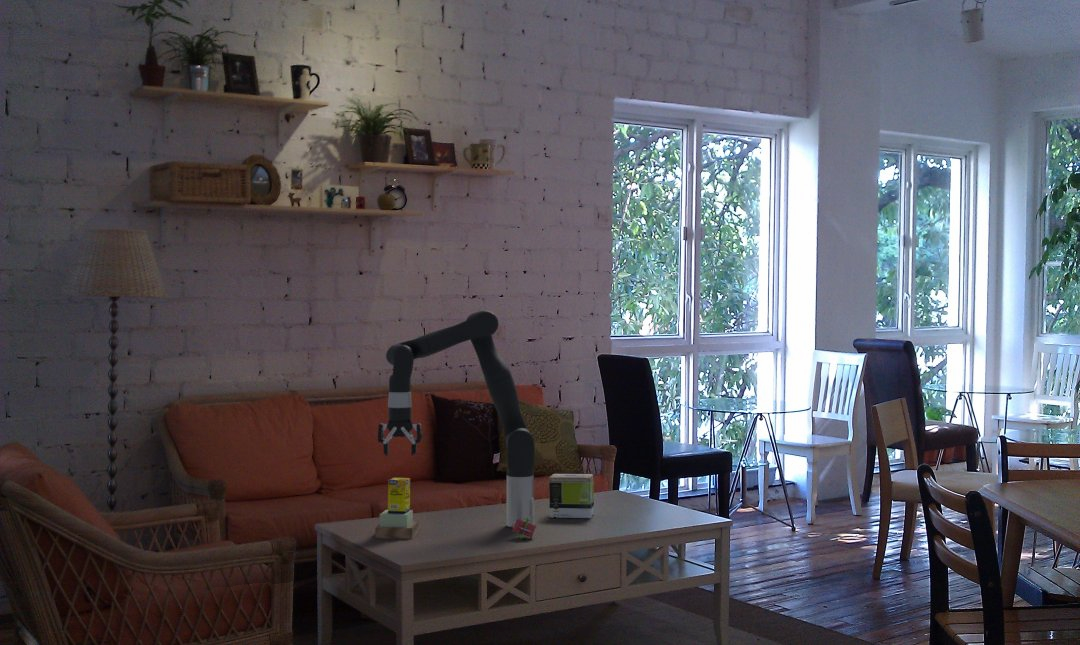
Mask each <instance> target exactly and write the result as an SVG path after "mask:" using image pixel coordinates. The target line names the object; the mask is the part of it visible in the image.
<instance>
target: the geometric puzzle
mask: <svg viewBox="0 0 1080 645" xmlns="http://www.w3.org/2000/svg"><path fill="white" fill-rule="evenodd" d="M524 520H526V522H524V521H522V520H519V519H516V521H514V523H513V527H514V528H513V527H512V532H513V533H514V534H515V535H517V534H518V535H519V538H520V540H523V539H528V538H529V539H532V538H533V536H534V533H535V530H536V528H537V525H536V524H535V523H534V525H533V524H530V521H529V519H528V518H527V519H524ZM528 521H529V523H528ZM531 522H532V521H531ZM532 523H533V522H532Z"/></svg>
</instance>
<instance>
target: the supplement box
mask: <svg viewBox="0 0 1080 645" xmlns="http://www.w3.org/2000/svg"><path fill="white" fill-rule="evenodd" d="M387 483H388V484H387V485H388V486H387V490H388V491H387V510H388V513H398V514H405V513H406V512H408V511H410V510H411V509H410V508H411V477H410V478H409V477H392V478H391V479H388V482H387Z"/></svg>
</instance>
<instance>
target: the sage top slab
mask: <svg viewBox="0 0 1080 645" xmlns="http://www.w3.org/2000/svg"><path fill="white" fill-rule="evenodd" d="M413 521H414V511H413V509H410V511H408V512H406V513H405V514H398V513H388V509H385V510H383V512H381V513H379V524H380V527H408V526H409V525H410V524H411V523H413Z"/></svg>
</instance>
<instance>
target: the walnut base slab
mask: <svg viewBox="0 0 1080 645" xmlns="http://www.w3.org/2000/svg"><path fill="white" fill-rule="evenodd" d="M374 532H375V534H374V535H375V537H374V538H375V539H406V540H407V539H408V540H409V539H413V538H414V537H415V536H416V535H417V534H418V532H419V521H417V520H413V523H411V524H410V525H409V526H408V527H380V523H379V524H378V525H377V526H375V529H374Z"/></svg>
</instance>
